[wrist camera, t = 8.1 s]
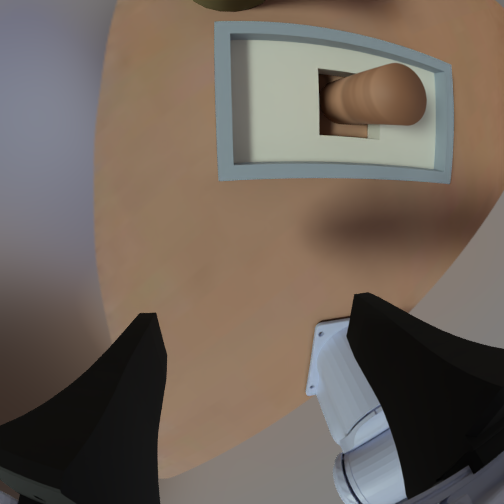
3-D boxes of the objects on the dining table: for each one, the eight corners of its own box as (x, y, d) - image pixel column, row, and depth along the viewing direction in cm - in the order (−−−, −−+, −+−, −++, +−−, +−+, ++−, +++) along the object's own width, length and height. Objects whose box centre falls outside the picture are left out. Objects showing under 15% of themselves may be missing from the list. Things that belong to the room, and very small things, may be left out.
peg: (361, 87, 16) (428, 75, 10) (358, 128, 17) (424, 132, 11) (321, 76, 15) (377, 54, 9) (317, 119, 17) (372, 116, 10)
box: (427, 176, 19) (450, 184, 16) (218, 174, 17) (218, 181, 15) (427, 68, 15) (451, 64, 13) (214, 37, 14) (214, 21, 11)
